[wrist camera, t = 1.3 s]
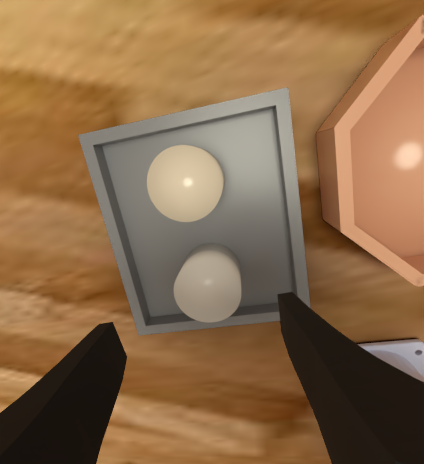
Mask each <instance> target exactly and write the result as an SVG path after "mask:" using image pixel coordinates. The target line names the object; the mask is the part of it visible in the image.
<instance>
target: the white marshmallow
mask: <svg viewBox="0 0 424 464" xmlns="http://www.w3.org/2000/svg"><path fill="white" fill-rule="evenodd" d="M174 297H175V300H176V303H177V305H178V306H179V308H180V309H181V310H182V311H183V312H184V313H185V314H186V315H187V316H189V317H191V318H192V319H195V320H197V321H200V322H207V323H211V322H218V321H222V320H224V319H226V318H228V317H229V316H231V315H232V314H233V313H234V312H235V311H236V309H237V308H238V306H239V303H240V300H241V267H240V263H239V260H238V258H237V256H236V255H235V254H234V253H233V252H232V251H231V250H230V249H229V248H227V247H225V246H223V245H220V244H216V243H207V244H203V245H200V246H198V247H196V248H195V249H193V250H192V251H191V252H190V253H189V255H188V256H187V258H186V260H185V262H184V264H183V266H182V268H181V270H180V272H179V274H178V276H177V278H176V280H175V283H174Z"/></svg>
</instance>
